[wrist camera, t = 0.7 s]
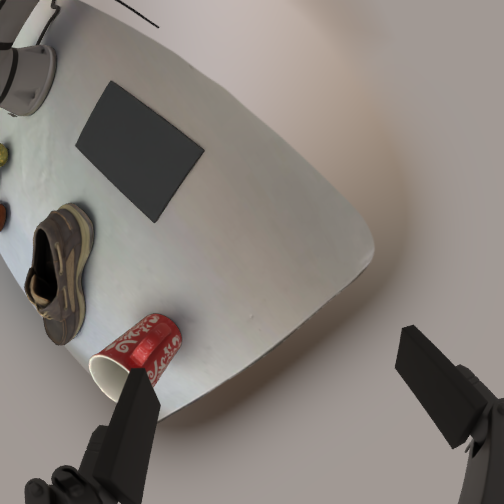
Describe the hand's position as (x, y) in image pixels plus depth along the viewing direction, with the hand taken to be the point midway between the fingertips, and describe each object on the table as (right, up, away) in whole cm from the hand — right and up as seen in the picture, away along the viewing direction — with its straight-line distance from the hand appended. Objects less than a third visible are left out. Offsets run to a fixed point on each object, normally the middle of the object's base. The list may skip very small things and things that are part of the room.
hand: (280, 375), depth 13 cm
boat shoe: (-35, +2, +33) cm, 48 cm away
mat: (-18, +21, +23) cm, 36 cm away
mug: (-14, -6, +30) cm, 34 cm away
